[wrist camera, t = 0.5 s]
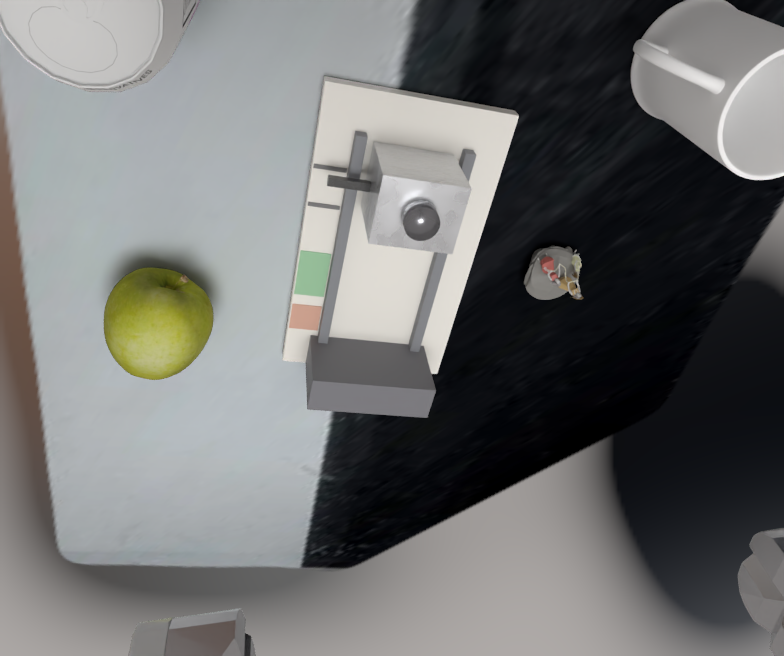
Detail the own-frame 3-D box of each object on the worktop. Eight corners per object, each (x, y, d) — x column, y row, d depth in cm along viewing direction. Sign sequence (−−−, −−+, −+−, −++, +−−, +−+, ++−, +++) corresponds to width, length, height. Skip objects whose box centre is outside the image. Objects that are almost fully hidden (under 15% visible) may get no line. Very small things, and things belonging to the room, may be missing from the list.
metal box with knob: (331, 134, 47) (337, 175, 42) (453, 154, 49) (475, 196, 44) (320, 199, 50) (325, 246, 44) (436, 215, 52) (455, 263, 46)
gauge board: (324, 75, 46) (329, 109, 40) (514, 110, 49) (545, 146, 44) (282, 352, 59) (282, 407, 54) (434, 365, 63) (449, 419, 57)
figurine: (530, 299, 59) (561, 331, 54) (506, 264, 57) (536, 294, 52) (580, 262, 59) (615, 291, 54) (557, 225, 56) (592, 252, 51)
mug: (570, 73, 48) (641, 131, 39) (644, -51, 44) (744, -19, 35) (692, 136, 52) (784, 204, 43) (770, 29, 48) (891, 77, 39)
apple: (230, 258, 54) (222, 316, 47) (201, 346, 58) (190, 409, 52) (127, 229, 51) (105, 285, 45) (105, 323, 56) (82, 386, 49)
